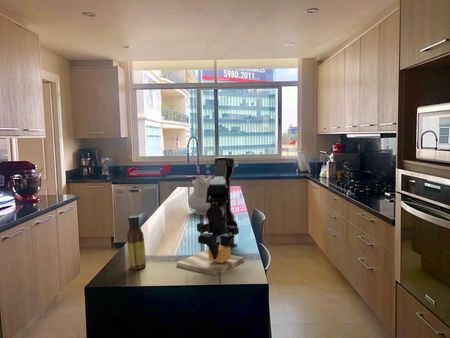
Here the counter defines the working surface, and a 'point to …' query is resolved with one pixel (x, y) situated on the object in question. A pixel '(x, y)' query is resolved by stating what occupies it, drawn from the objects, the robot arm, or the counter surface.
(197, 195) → the ceramic pitcher
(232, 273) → the counter surface
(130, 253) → the sauce bottle
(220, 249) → the amber foam cube
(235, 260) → the birch board
